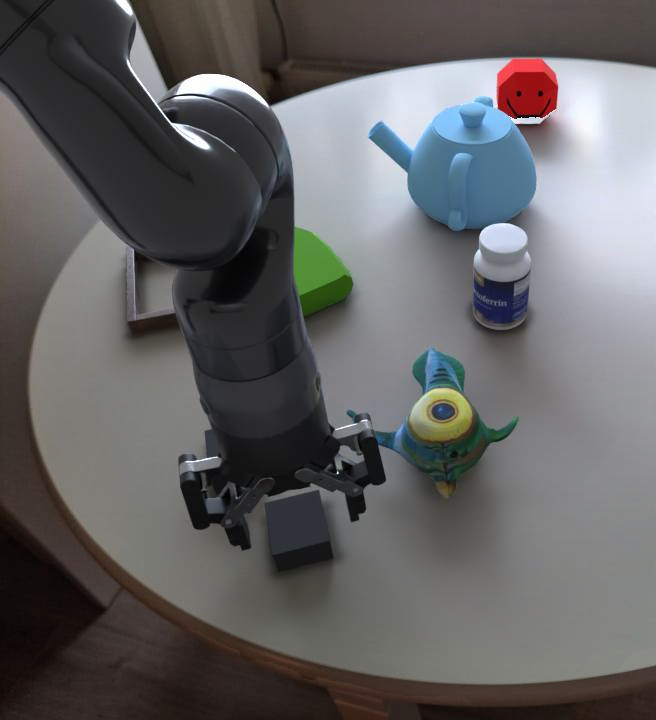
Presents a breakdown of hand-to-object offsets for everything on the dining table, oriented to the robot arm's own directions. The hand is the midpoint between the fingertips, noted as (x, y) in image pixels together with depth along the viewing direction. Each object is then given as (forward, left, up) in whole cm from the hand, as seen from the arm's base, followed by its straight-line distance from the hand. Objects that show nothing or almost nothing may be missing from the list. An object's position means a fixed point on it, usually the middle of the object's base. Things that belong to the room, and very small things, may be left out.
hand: (299, 526), depth 64 cm
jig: (-9, +35, -2) cm, 36 cm away
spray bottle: (+2, +38, -2) cm, 38 cm away
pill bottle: (+24, +21, -2) cm, 32 cm away
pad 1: (-4, +9, -2) cm, 10 cm away
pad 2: (0, 0, -2) cm, 2 cm away
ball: (+40, +58, -2) cm, 71 cm away
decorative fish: (+13, +7, -2) cm, 15 cm away
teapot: (+25, +42, -2) cm, 49 cm away
